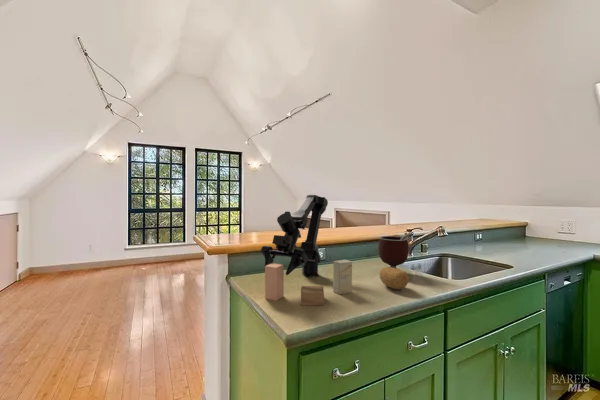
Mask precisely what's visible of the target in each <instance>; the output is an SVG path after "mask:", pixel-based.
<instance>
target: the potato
mask: <svg viewBox="0 0 600 400" xmlns="http://www.w3.org/2000/svg"><path fill="white" fill-rule="evenodd" d="M380 270H381V271H379V279H380V280H381V282H382V284H383V285H384V286H386V287H389V288H391V289H393V290H401V289H404V288H406V287H407V285H408V284H409V282H410V276H409V274H408V273H407V272H406V271H405V270H403V269H400V268H397V267H396V268H392V267H390V266H386V267H382V268H381V269H380ZM402 270H403V271H402ZM404 271H405V272H406V273H405V272H404Z"/></svg>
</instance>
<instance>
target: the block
mask: <svg viewBox="0 0 600 400" xmlns="http://www.w3.org/2000/svg"><path fill="white" fill-rule="evenodd" d="M284 269H285V267H284V264H282V263H274V262H273V263H271V264H269V265H266V266H265V265H264V278H265V279H264V299H266V300H271V301H276V302H277V301H278V300H280V299H281V298H283V297H285V296H284V293H285V291H284V287H285V285H284V284H285V283H284V279H285V278H284V275H285V273H284V272H285V271H284Z"/></svg>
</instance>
